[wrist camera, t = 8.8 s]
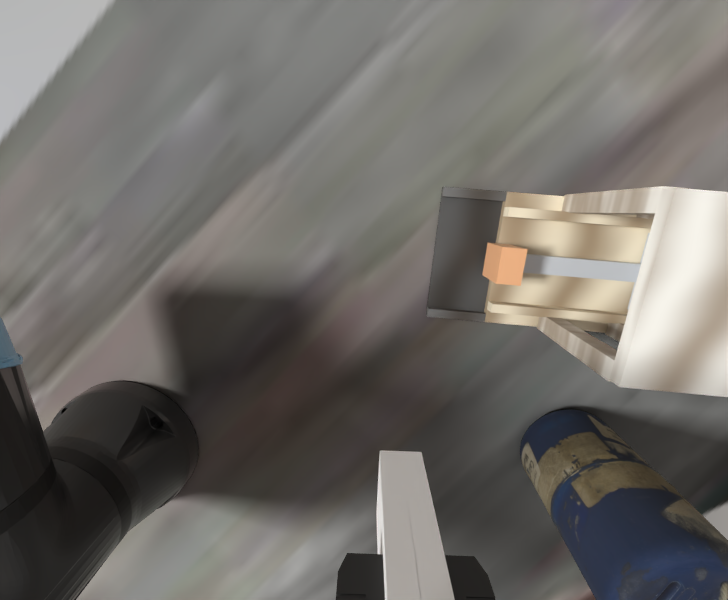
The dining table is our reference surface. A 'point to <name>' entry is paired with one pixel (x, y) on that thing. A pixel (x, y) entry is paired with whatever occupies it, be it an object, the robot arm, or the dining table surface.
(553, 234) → the cream wooden rail frame
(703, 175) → the dining table surface
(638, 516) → the canister
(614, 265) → the orange and grey bar
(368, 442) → the dining table surface
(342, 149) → the dining table surface
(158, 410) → the robot arm
